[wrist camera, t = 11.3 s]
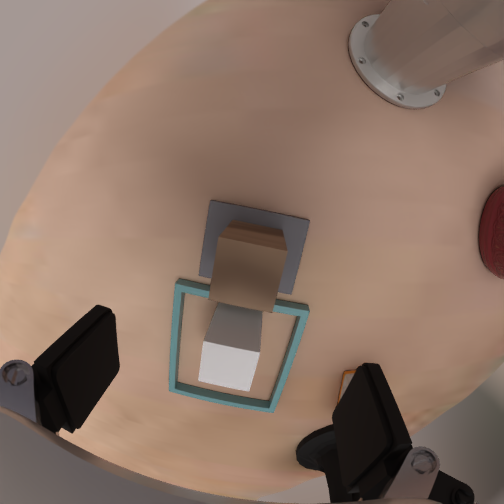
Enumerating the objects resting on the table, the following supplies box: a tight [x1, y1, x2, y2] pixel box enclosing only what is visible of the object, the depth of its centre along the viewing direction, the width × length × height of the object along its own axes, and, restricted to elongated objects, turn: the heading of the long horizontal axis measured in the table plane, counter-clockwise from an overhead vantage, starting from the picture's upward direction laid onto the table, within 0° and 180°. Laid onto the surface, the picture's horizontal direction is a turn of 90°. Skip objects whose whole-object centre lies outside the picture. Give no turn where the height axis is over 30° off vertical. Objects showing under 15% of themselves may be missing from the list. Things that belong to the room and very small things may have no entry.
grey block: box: [198, 302, 263, 391], centre depth 28 cm, size 5×5×8 cm
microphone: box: [296, 424, 361, 503], centre depth 25 cm, size 15×17×25 cm
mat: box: [199, 200, 310, 295], centre depth 28 cm, size 8×10×1 cm
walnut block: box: [208, 220, 288, 313], centre depth 24 cm, size 5×5×8 cm
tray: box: [169, 279, 310, 413], centre depth 32 cm, size 17×15×2 cm
